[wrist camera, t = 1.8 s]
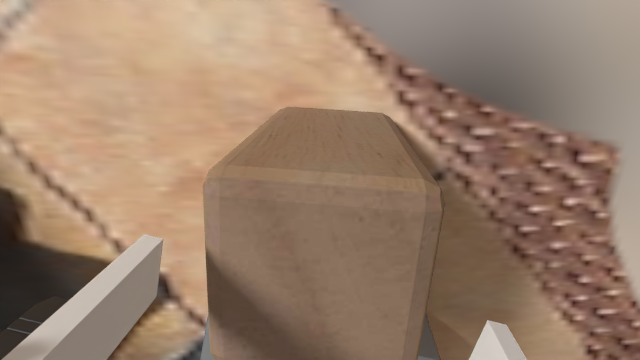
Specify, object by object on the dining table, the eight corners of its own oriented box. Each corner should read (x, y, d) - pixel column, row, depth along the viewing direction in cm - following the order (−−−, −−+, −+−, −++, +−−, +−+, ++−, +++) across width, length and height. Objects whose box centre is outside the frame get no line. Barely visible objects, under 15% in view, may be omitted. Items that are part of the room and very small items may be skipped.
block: (392, 112, 33) (456, 189, 14) (379, 216, 36) (418, 394, 17) (278, 104, 33) (192, 170, 14) (276, 208, 37) (203, 374, 18)
